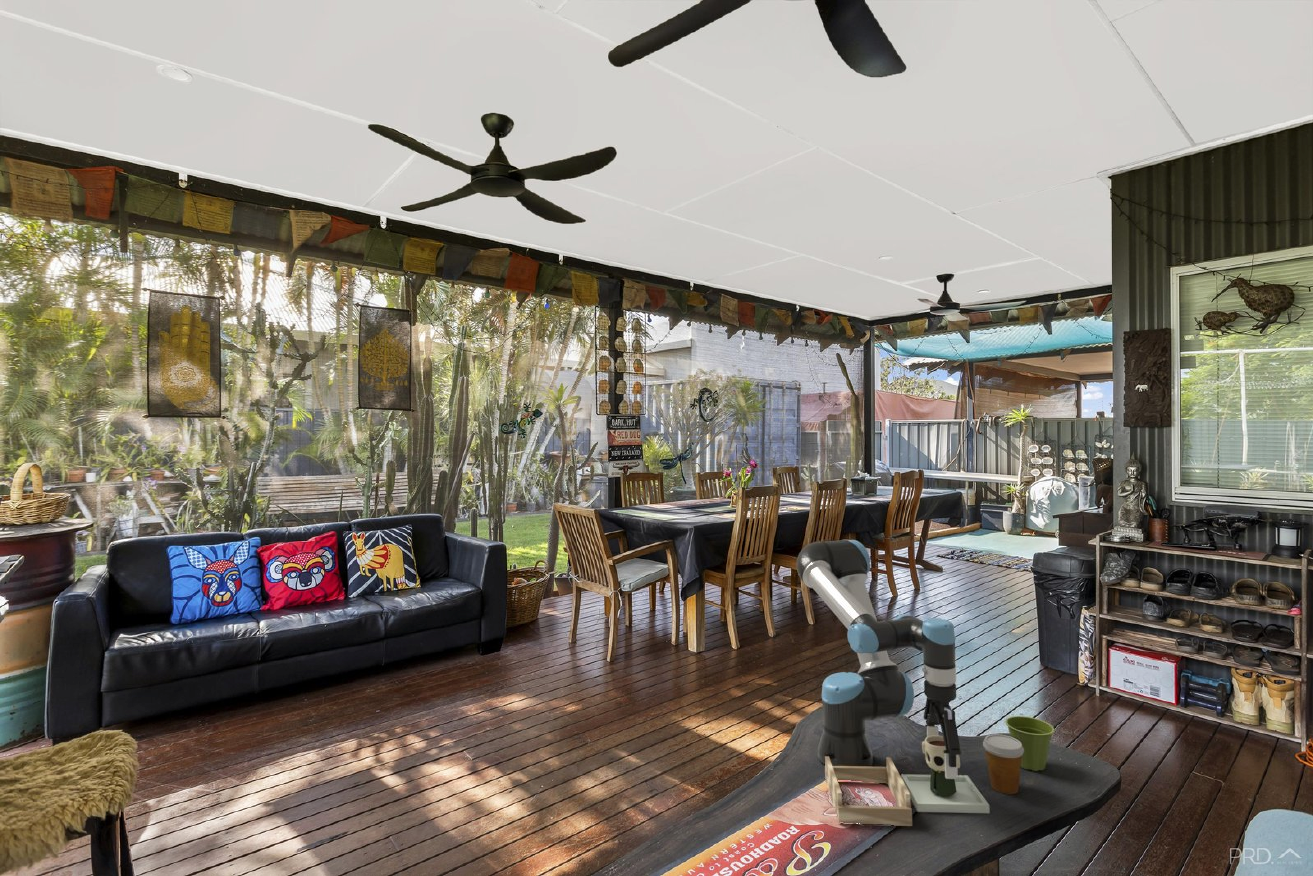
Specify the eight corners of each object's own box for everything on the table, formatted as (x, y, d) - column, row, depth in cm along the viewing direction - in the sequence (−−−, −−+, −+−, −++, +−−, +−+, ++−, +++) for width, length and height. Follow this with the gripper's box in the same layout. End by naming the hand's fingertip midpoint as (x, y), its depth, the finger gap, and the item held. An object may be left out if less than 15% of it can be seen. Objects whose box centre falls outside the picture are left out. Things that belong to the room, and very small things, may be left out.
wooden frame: (825, 780, 177) (824, 754, 177) (890, 781, 175) (889, 755, 175) (839, 824, 157) (838, 795, 157) (912, 826, 155) (911, 796, 155)
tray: (901, 782, 175) (901, 774, 175) (967, 783, 174) (967, 775, 174) (917, 811, 161) (917, 803, 161) (989, 813, 160) (989, 805, 160)
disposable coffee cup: (1031, 799, 165) (1029, 751, 165) (990, 796, 167) (988, 749, 167) (1018, 779, 174) (1016, 734, 174) (979, 777, 176) (978, 732, 176)
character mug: (916, 788, 170) (912, 737, 171) (934, 779, 174) (930, 730, 174) (953, 806, 161) (949, 752, 161) (971, 797, 164) (967, 744, 165)
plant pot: (1045, 781, 173) (1043, 738, 173) (998, 764, 183) (997, 724, 183) (1062, 766, 181) (1061, 725, 181) (1017, 751, 190) (1016, 712, 190)
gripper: (910, 664, 180) (912, 740, 180) (941, 701, 155) (943, 790, 155) (938, 664, 179) (940, 741, 180) (974, 701, 155) (976, 791, 155)
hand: (941, 764), depth 168 cm, fingers open, 13 cm apart
